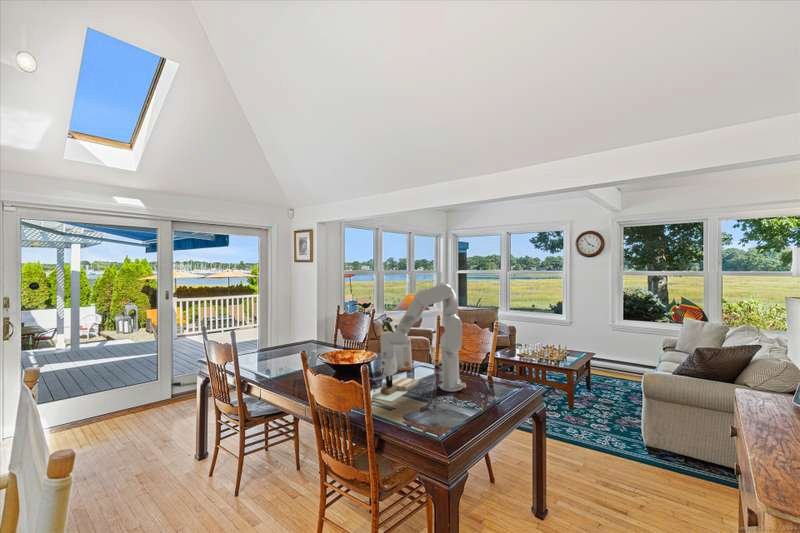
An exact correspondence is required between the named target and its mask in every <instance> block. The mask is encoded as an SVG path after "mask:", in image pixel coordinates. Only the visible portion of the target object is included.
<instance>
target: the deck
mask: <svg viewBox="0 0 800 533" xmlns="http://www.w3.org/2000/svg"><path fill="white" fill-rule="evenodd" d="M419 380H420V379H417V378H415V379H414V378H410V377H405V376H403V377H401V376H393V379H392V383H393V385H397V386H398V387H399V390H401V391H407V392H409V391H410V390H411V389H413V388H415V387H417V386H418V385H420V381H419ZM385 386H386V381H385V382H383V383H382V387H385Z"/></svg>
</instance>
